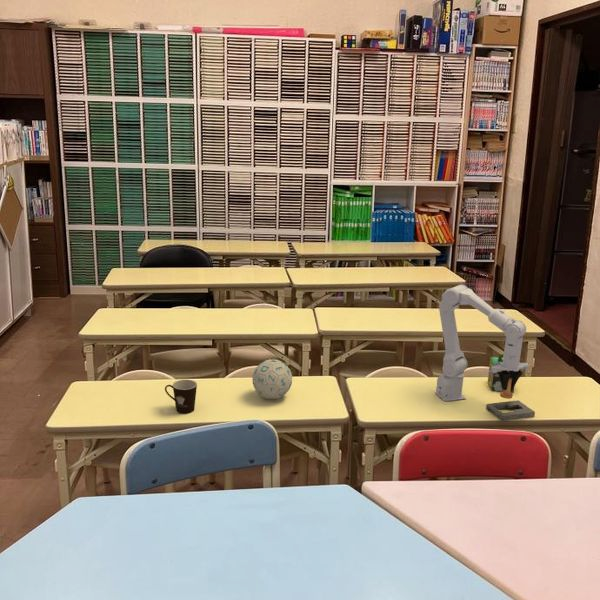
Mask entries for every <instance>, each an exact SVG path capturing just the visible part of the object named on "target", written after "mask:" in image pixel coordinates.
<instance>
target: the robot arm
mask: <svg viewBox="0 0 600 600" xmlns="http://www.w3.org/2000/svg"><path fill="white" fill-rule="evenodd" d="M459 305H460V306H461V305H463V306H464V305H465V306H466V305H470V306H472V307H473V308H474V309H476V310H477V311H478V312H481V313H482V314H484V315H485V316H487V317H488V322H490V323H491V324H492V325H494V326H495V327H497V328H498V329H499V330H501V331H502V332H503V335H504V336H505V342H504V343H505V344H504V351H503V354H504V356H503V363H502V364H499V365H496V366H492V369H491V371H492V372H493V373H497V372H498V374H499V377H500V380H501V387H502V389H504V390H507V386H508V381H509V378H512V383H511V389H514V390H515V387H516V384H517V383H518V380H519V379H520V378H521V377H522V375H523V371H521V370H526V371H528V370H529V368H530V364H528V363H527V362H520V360H521V352H522V348H523V338H524V335H525V334H526V332H527V326H526V324H525V323H524V322H523V321H522V320H518V319H516V318H514V317H513V318H512V317H511V316H510V315H508V314H507V313H506V312H505V310H504V309H500V308H493V307H492V306H491V305H490V304H488V303H487V302H485V300H483V299H482V298H481V297H479V296H478V295H477V294H476V293H475V292H474V290H473V289H471V288H468V286H467V285H465V284H457V285H456V286H454V287H451V288H447V289H446V290H445V291H444V292H443V293H442V294H441V299H440V303H439V306H438V311H439V317H440V322H441V330H442V335H443V341H444V347H445V354H444V356H443V359H442V360H443V364H442V372H443V374H442V375H439V376H438V377H437V379H436V389H435V391H434V393H435V394H436V396H438V397H439V398H440V399H441V400H442V401H444V402H451V401H457V400H458V401H459V400H466V399H467V397H466V396H465V395H463V385H464V378H465V377H464V376H465V373H464V372H465V371H466V370H467V369H468V366H469V365H468V364H469V363H468V360H467V359H466V357H465V353H464V352H463V351H462V350H461V348H460V340H459V335H458V326H457V322H456V315H455V310H456V309H457V307H458V306H459ZM508 371H509V373H508Z"/></svg>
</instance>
